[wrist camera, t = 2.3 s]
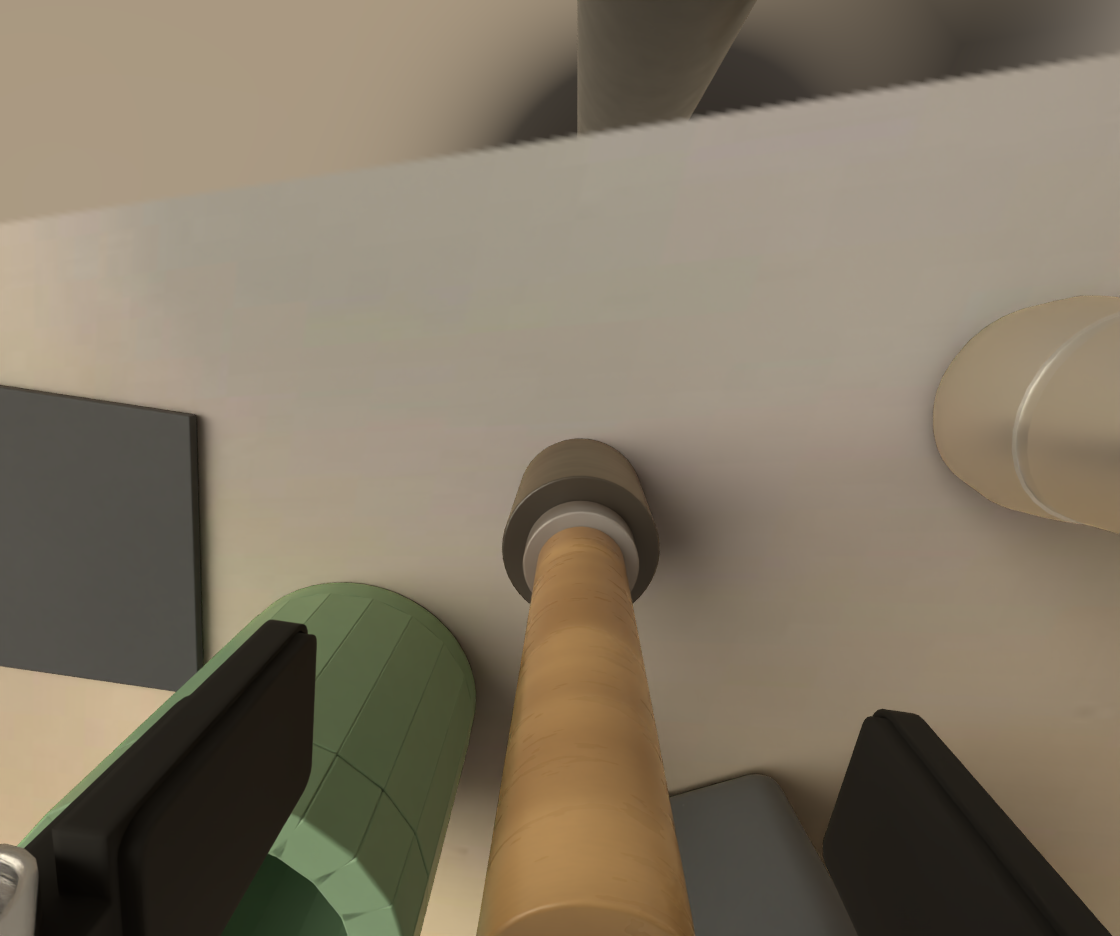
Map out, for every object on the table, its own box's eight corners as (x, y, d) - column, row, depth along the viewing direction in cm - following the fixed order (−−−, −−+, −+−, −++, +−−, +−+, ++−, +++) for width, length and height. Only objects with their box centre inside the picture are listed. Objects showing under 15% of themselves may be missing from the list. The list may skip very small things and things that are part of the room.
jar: (235, 564, 22) (-25, 754, 13) (489, 602, 22) (422, 818, 13) (237, 771, 25) (24, 1058, 15) (463, 804, 25) (392, 1109, 15)
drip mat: (-47, 377, 21) (-58, 378, 20) (196, 414, 21) (189, 416, 20) (-7, 658, 24) (-16, 664, 23) (204, 689, 24) (197, 695, 24)
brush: (527, 429, 20) (375, 778, 5) (651, 448, 21) (874, 849, 5) (511, 544, 22) (351, 1108, 6) (629, 562, 22) (755, 1165, 6)
